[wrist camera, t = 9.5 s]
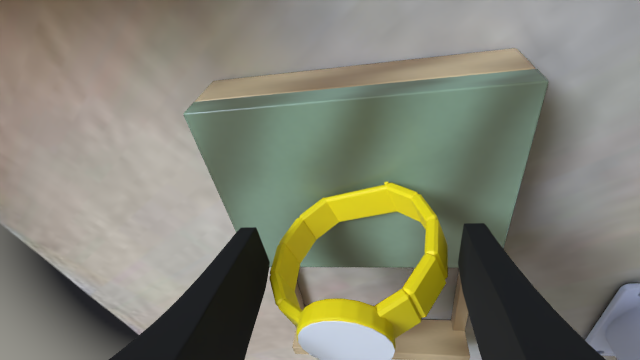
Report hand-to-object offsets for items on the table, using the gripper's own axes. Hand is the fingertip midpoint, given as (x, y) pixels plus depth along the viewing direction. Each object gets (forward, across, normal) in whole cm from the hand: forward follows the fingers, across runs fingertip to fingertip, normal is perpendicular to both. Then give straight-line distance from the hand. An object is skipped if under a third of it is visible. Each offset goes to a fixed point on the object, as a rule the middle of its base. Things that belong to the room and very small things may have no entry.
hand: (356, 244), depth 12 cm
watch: (+2, 0, 0) cm, 2 cm away
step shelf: (+5, 0, +6) cm, 8 cm away
